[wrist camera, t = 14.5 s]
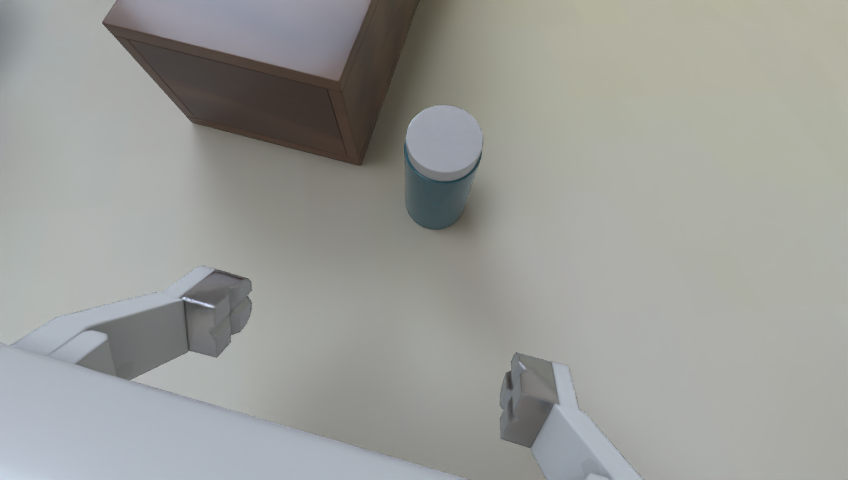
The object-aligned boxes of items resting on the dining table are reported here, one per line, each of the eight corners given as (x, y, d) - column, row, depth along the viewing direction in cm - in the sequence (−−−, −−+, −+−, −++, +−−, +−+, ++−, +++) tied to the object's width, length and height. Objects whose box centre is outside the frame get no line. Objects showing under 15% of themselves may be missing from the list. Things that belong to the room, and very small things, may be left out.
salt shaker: (470, 183, 27) (493, 113, 20) (456, 236, 26) (475, 183, 19) (414, 169, 28) (416, 94, 20) (398, 221, 26) (393, 162, 19)
